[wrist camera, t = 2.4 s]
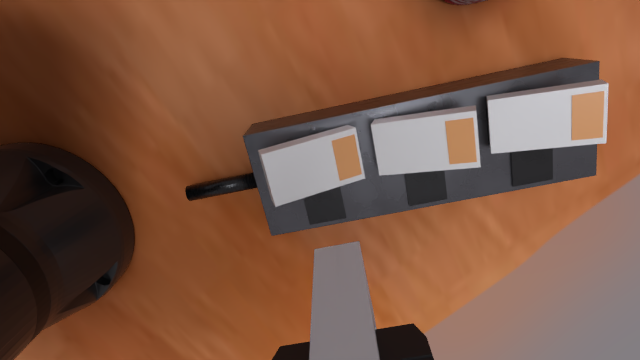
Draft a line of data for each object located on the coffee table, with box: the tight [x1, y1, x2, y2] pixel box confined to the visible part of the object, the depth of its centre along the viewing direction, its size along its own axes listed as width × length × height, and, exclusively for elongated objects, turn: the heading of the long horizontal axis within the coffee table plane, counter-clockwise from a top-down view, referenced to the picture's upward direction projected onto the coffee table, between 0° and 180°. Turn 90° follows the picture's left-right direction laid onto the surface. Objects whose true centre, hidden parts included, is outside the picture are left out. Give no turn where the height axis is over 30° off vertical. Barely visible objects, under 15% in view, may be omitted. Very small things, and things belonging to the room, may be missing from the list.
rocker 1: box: [258, 125, 365, 207], centre depth 26 cm, size 6×4×2 cm, turn 103°
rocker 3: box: [486, 80, 608, 154], centre depth 25 cm, size 6×4×2 cm, turn 101°
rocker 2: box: [371, 105, 481, 176], centre depth 25 cm, size 6×4×2 cm, turn 101°
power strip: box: [185, 58, 599, 236], centre depth 29 cm, size 30×8×5 cm, turn 102°
